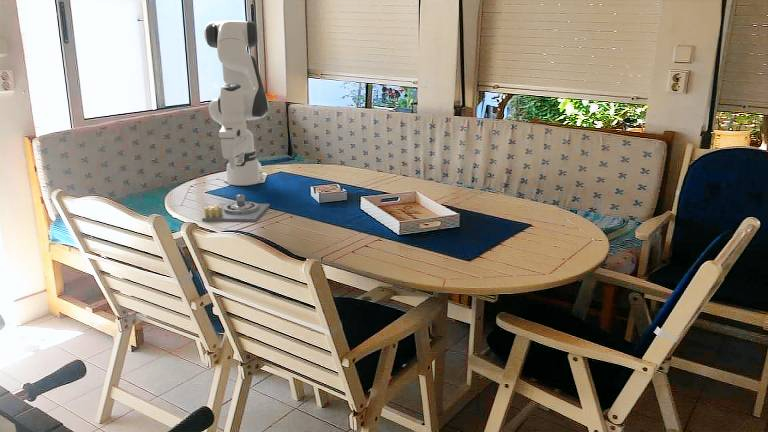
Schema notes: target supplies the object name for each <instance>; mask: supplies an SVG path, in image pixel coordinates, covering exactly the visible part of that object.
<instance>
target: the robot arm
mask: <svg viewBox="0 0 768 432" xmlns="http://www.w3.org/2000/svg"><path fill="white" fill-rule="evenodd" d="M257 25H258V24H256V22H255V21H251V20H247V21H245V20H239V19H238V20H236V19H235V20H234V19H232V20H221V21H209V22H208V23H207V24H206V25H205V28H204V39H205V41H206V43H207V45H208V46H209V47H210V48H214V49H217V50H216V51H217V57H218V59H219V61H220V63H221V64H222V66H221V67H222V77H223V82H224V83H225V84H224V85H221V88H220V94H219V96H218V97H217V98H213V99H211V101H210V103H209V104H208V113H209V116H210V118H211V119H212V120H213V121H215V123H218V124H219V125H220V126H221V128H220V130H219V131H218V137H219V138H221V139H220V147H221V155H222V157H223V159H224V160H228V163H227V164H226V178H225V179H223V182H224V183H226V184H229V185H230V186H231V185H232V186H252V185H257V184H262V183H265V182H266V179H267V176H268V174H267V172H263V170H262V164H261V162H260V161H259V160H258V159H257V149H255V139H254V134H253V132H252V131H250V130H249V129H248V127H247V121H255V120H259V119H263V118H264V117H266V115H268V112H269V107H270V105H269V104H270V103H269V99H268V96H267V94H266V92H265V89H264V84H263V81H262V78H261V74H260V73H261V72H260V70H259V67H258V63H257V61H256V59H255V57H254V56H252V55H250V54H249V52H248V51H247V48H248V49H249V50H251V48H254V47H256V46H257V44H258V43H259V39H260V29H259V27H258V26H257Z"/></svg>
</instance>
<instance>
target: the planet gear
mask: <svg viewBox="0 0 768 432" xmlns="http://www.w3.org/2000/svg"><path fill="white" fill-rule="evenodd" d="M235 198H236V202H237V203H235V204H234V205H230V209H231V210H246V209H250V208H252V204H251V203H245V202H246V200H245V194H244V193H243V194H241V193H239V194H236V197H235Z"/></svg>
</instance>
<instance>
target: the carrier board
mask: <svg viewBox="0 0 768 432" xmlns="http://www.w3.org/2000/svg"><path fill="white" fill-rule="evenodd" d="M235 203H237V201H236V202H220V203H218V204H213V205H210V204H209V205H207V206H204V207H203V211H204V216H203V217H202V218H201V221H203V222H204V221H205V222H208V221H209V222H251V223H255V222H256V221H258V219H259V218H260V217H262V215H263V214H264V213H265V212H266V211H267V210H268V209H269V208H270V206H271V205H270V203H257V202H253V201H245V203H251V204H252V208H250V209H246V210H231V209H230V205H234V204H235Z"/></svg>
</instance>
